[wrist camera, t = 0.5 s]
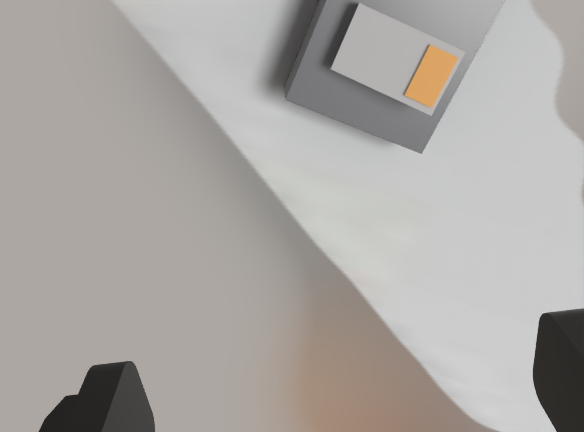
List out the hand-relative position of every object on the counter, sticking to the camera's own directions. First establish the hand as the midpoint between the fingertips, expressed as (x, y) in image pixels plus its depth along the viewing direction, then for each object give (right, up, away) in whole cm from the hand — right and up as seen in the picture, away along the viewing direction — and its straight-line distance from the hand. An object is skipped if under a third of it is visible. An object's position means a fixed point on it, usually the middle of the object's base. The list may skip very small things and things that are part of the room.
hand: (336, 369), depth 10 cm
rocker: (+5, +12, +19) cm, 23 cm away
